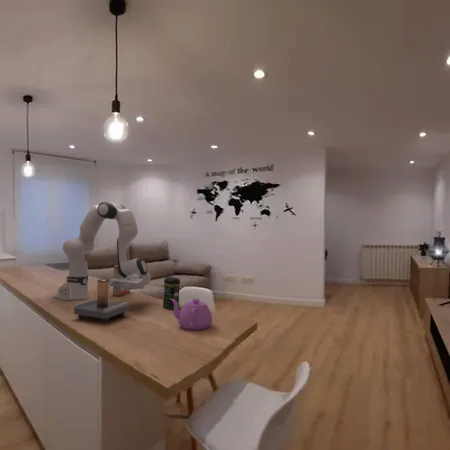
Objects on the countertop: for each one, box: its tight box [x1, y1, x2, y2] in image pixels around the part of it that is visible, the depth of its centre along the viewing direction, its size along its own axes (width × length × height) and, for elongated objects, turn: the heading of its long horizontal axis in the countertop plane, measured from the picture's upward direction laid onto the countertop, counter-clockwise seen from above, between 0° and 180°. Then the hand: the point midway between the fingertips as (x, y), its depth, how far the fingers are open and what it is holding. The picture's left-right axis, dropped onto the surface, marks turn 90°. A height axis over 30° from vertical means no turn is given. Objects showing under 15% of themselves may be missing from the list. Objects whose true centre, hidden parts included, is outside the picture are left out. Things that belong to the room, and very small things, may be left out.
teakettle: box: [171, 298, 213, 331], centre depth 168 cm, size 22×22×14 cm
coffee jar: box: [162, 276, 181, 310], centre depth 202 cm, size 10×8×19 cm
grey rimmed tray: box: [73, 298, 129, 324], centre depth 177 cm, size 20×18×7 cm
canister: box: [96, 278, 110, 308], centre depth 176 cm, size 6×6×14 cm
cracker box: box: [112, 264, 130, 297], centre depth 233 cm, size 14×6×21 cm, turn 168°
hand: (117, 285), depth 188 cm, fingers open, 8 cm apart
